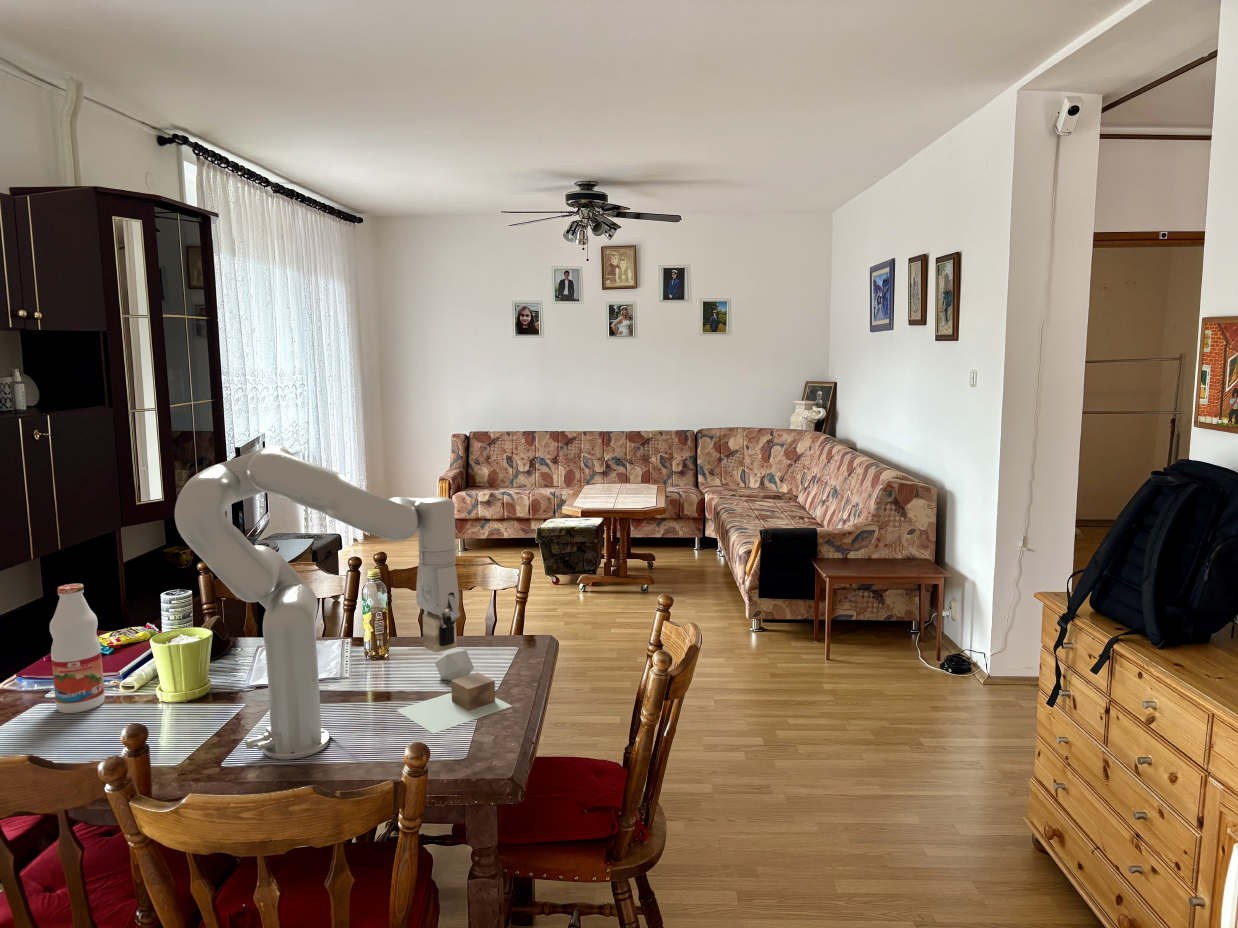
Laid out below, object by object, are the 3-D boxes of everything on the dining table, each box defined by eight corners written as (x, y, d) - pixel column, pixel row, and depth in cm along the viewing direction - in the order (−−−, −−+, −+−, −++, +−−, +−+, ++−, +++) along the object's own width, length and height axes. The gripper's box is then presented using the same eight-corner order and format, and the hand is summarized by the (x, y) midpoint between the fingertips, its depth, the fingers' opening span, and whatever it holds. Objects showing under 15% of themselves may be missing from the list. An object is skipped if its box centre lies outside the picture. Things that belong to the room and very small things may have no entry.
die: (480, 680, 205) (468, 643, 208) (471, 675, 197) (459, 637, 200) (449, 692, 204) (438, 656, 208) (439, 688, 196) (427, 650, 200)
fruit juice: (109, 694, 195) (99, 578, 191) (99, 710, 186) (89, 589, 183) (62, 700, 192) (52, 582, 188) (50, 716, 183) (39, 593, 179)
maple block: (435, 652, 171) (434, 619, 170) (423, 646, 175) (422, 614, 174) (456, 647, 174) (455, 615, 174) (444, 641, 178) (443, 609, 177)
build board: (433, 737, 172) (433, 733, 172) (396, 714, 183) (395, 709, 183) (512, 710, 185) (512, 705, 185) (472, 689, 197) (472, 685, 197)
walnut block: (468, 710, 183) (468, 688, 182) (451, 701, 188) (451, 680, 187) (495, 701, 187) (494, 680, 187) (478, 692, 192) (477, 672, 192)
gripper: (401, 552, 176) (403, 635, 178) (443, 567, 163) (445, 656, 166) (432, 547, 181) (434, 628, 183) (475, 561, 168) (477, 647, 171)
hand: (439, 640), depth 174 cm, fingers closed on maple block, 5 cm apart
